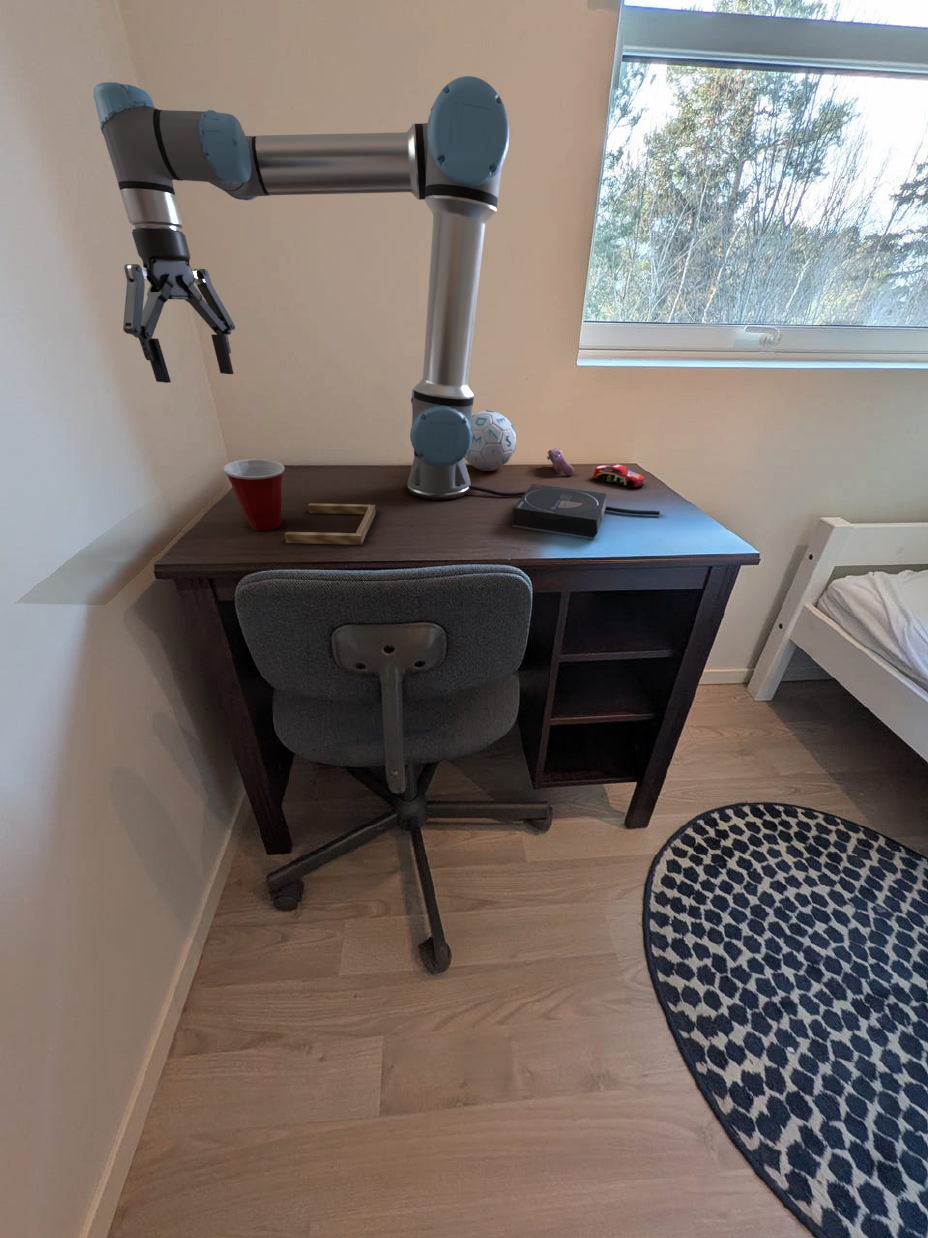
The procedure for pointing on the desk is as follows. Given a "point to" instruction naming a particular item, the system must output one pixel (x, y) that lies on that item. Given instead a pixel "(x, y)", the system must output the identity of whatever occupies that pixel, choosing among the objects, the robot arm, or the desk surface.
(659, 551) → the desk surface
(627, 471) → the race car
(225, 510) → the desk surface
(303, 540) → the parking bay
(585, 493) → the portable cd player
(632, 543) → the desk surface
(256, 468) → the plastic cup
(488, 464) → the puzzle ball
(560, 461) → the purple animal figurine
